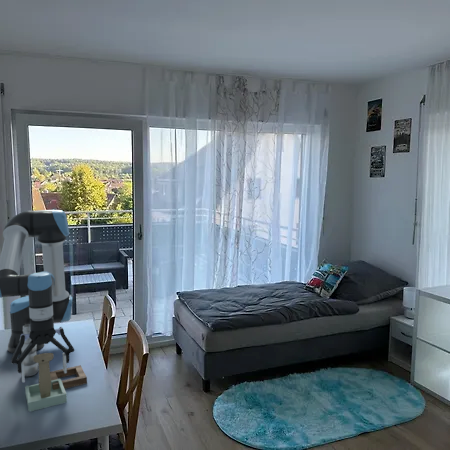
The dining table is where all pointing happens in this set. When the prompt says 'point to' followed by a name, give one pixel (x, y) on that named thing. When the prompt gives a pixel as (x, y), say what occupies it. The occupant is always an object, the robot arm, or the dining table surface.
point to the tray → (55, 397)
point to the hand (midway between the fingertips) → (44, 376)
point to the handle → (44, 373)
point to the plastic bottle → (29, 355)
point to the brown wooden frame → (69, 383)
